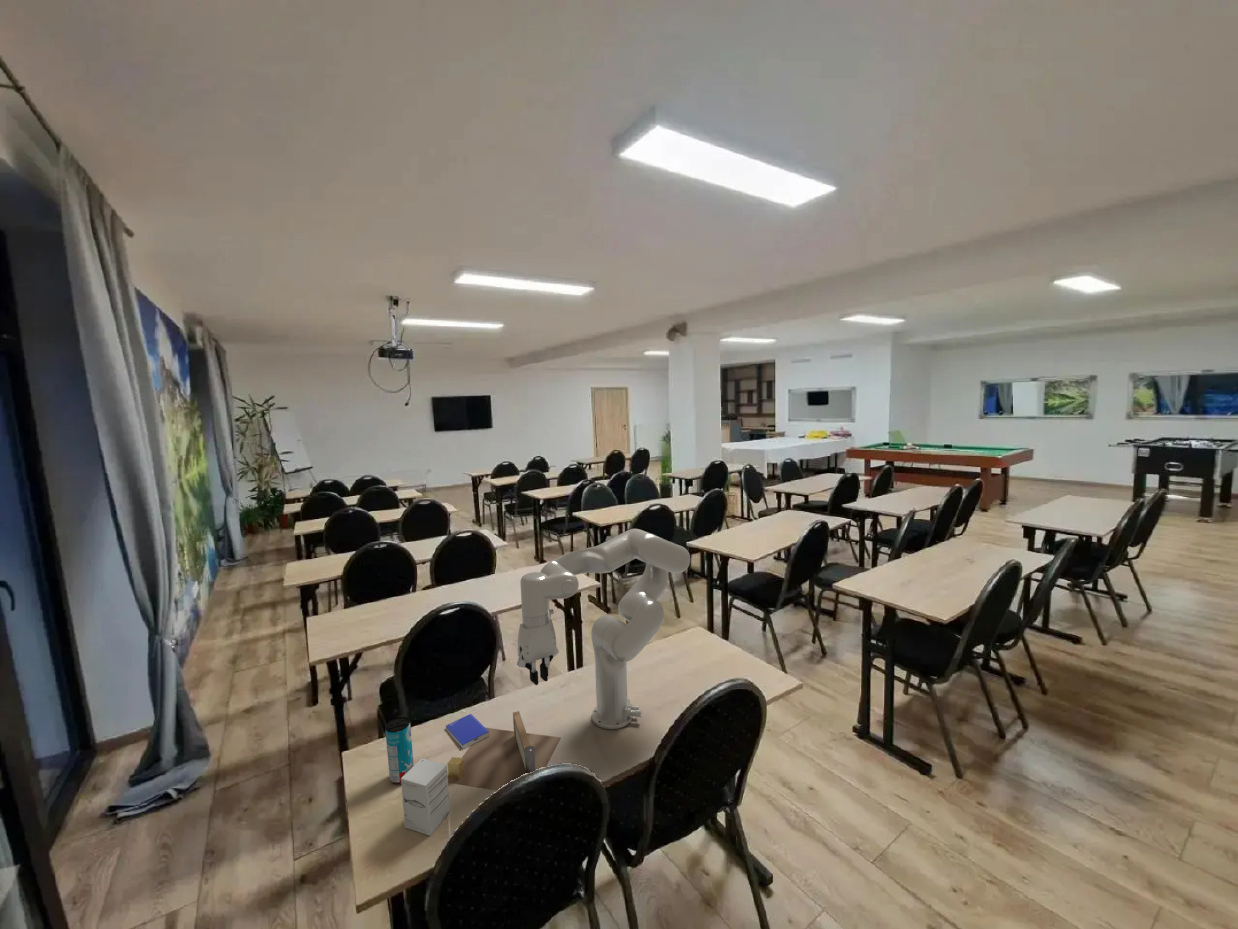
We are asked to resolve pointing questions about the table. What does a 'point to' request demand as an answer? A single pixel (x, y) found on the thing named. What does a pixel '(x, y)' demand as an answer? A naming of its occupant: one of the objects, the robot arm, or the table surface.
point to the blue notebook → (467, 731)
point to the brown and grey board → (520, 734)
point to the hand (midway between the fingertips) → (539, 680)
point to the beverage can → (399, 748)
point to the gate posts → (458, 764)
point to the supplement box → (425, 796)
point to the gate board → (501, 759)
